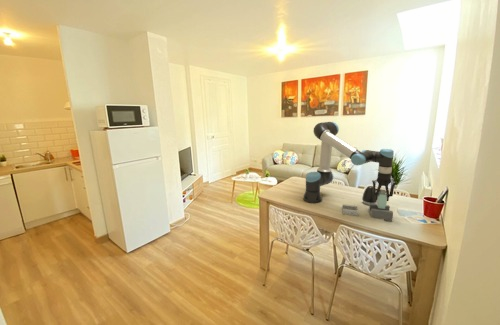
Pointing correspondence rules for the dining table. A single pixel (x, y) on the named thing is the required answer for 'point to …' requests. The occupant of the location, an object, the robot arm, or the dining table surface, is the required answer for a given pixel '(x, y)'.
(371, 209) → the port
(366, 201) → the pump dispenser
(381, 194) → the plug
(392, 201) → the dining table surface
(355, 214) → the holster
